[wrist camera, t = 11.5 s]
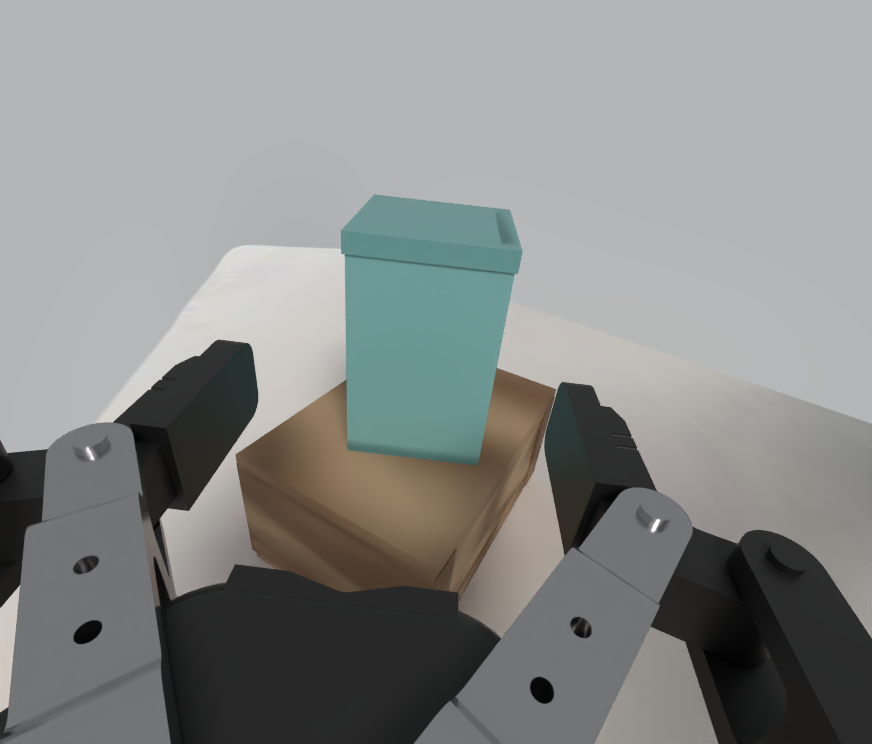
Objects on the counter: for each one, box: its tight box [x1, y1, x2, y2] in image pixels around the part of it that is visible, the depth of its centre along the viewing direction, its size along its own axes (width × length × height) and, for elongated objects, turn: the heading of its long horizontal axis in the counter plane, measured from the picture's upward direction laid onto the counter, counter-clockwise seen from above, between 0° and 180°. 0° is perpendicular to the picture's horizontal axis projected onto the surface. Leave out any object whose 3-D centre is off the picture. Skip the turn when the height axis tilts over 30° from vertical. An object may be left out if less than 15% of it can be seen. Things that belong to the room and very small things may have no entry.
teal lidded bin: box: [341, 195, 522, 466], centre depth 21 cm, size 6×6×10 cm
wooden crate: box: [236, 368, 556, 601], centre depth 25 cm, size 14×10×7 cm
